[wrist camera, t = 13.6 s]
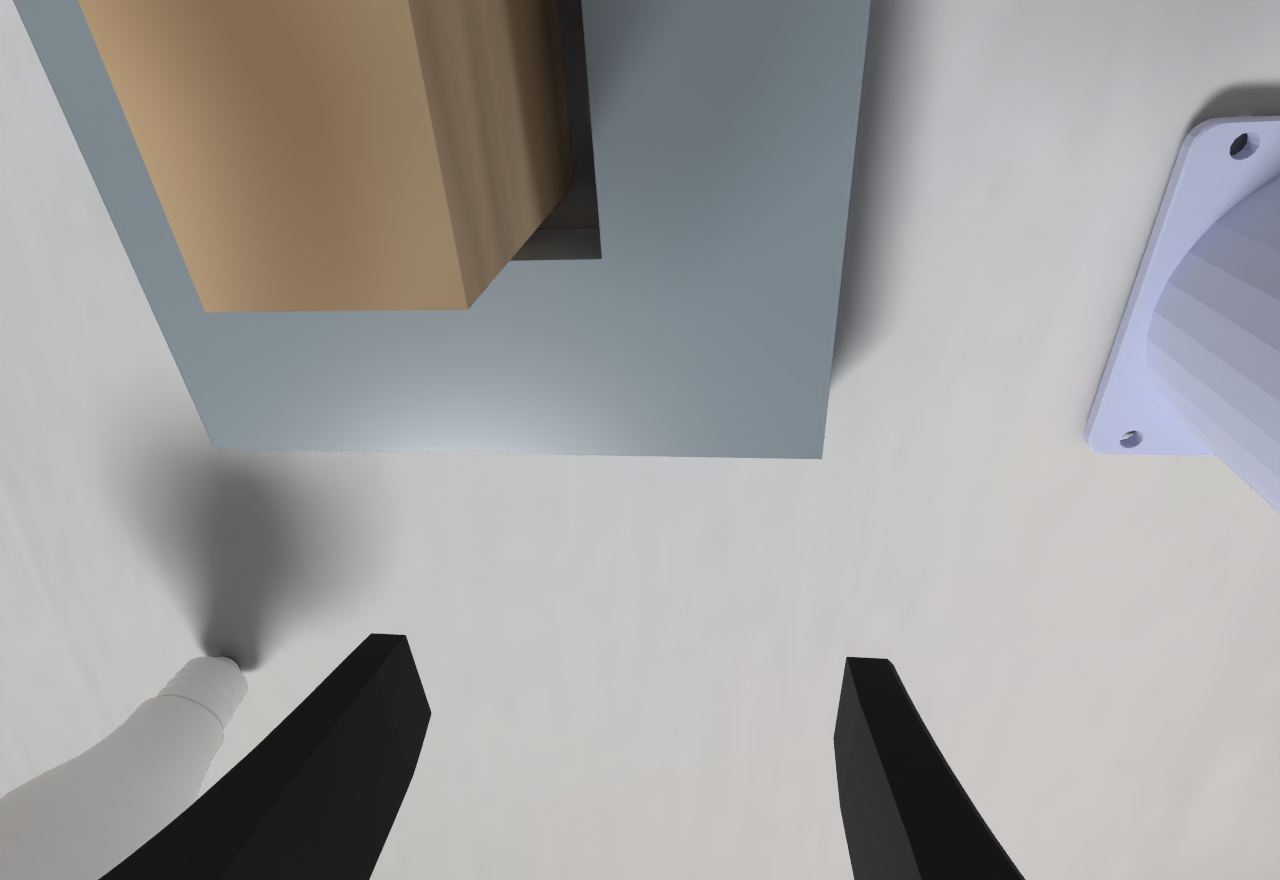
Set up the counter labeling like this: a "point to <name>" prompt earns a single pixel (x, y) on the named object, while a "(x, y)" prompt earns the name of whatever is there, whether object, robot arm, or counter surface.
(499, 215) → the peg
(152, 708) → the lightbulb
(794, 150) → the socket block
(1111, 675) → the counter surface
